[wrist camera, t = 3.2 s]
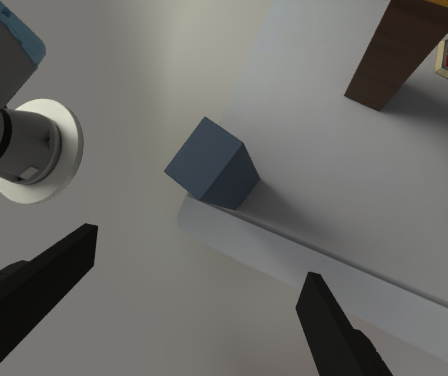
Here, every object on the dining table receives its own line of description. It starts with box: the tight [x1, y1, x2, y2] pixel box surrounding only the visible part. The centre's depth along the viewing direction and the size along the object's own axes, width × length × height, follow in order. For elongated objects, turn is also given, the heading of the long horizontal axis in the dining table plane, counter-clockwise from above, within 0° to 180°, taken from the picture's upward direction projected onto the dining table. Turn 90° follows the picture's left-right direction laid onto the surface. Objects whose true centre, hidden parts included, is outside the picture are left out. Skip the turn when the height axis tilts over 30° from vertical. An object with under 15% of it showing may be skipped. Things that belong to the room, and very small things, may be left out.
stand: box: [344, 0, 448, 111], centre depth 26 cm, size 8×7×30 cm
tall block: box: [164, 117, 260, 210], centre depth 34 cm, size 5×7×20 cm
